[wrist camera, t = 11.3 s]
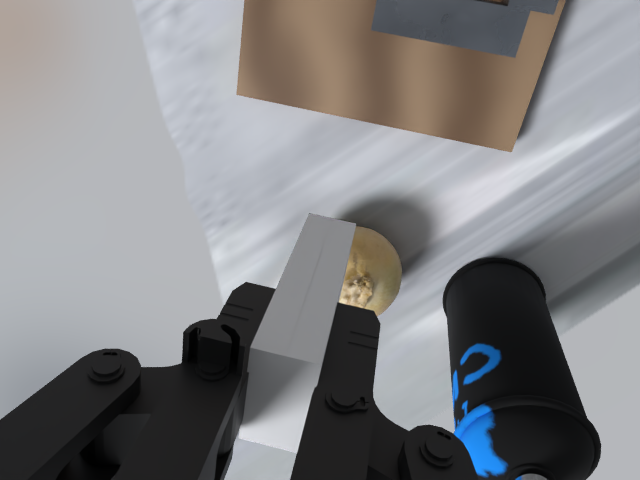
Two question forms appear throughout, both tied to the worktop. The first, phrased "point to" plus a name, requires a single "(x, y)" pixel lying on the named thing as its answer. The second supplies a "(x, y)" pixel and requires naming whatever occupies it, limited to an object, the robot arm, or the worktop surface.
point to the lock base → (388, 71)
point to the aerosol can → (513, 378)
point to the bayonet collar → (461, 21)
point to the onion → (371, 272)
